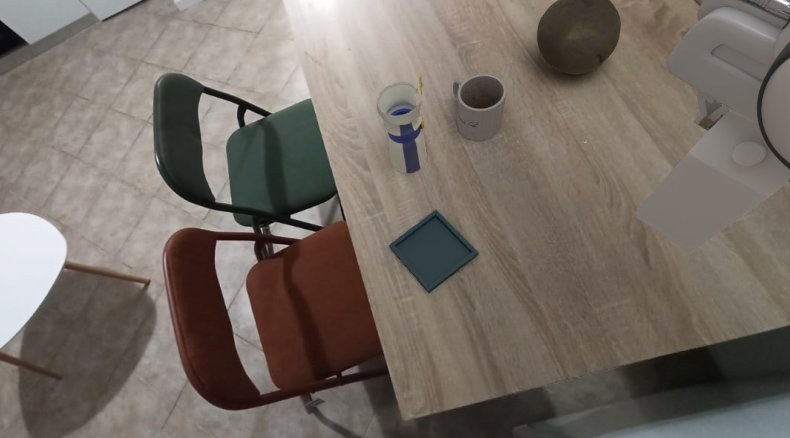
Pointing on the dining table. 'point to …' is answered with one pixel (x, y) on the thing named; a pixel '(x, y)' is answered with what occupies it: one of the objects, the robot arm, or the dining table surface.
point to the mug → (479, 106)
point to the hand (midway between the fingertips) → (750, 150)
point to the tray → (433, 250)
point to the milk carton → (714, 183)
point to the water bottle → (403, 126)
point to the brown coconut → (578, 34)
